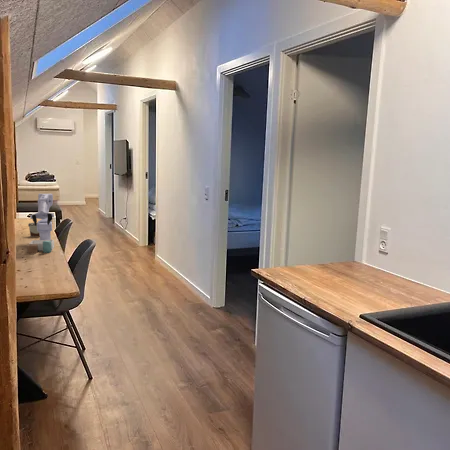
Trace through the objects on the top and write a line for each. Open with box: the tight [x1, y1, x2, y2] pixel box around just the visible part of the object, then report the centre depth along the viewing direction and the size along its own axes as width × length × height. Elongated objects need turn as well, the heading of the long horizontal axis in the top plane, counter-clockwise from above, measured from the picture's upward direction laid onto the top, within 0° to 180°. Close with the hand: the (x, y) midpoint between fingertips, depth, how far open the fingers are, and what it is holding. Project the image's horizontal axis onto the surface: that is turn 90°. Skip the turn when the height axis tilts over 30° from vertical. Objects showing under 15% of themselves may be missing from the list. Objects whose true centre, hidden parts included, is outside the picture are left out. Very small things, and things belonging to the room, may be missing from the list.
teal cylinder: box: [42, 241, 52, 254], centre depth 292 cm, size 5×5×7 cm
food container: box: [27, 222, 40, 237], centre depth 346 cm, size 12×6×10 cm, turn 84°
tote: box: [28, 239, 55, 252], centre depth 300 cm, size 12×14×5 cm
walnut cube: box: [27, 243, 39, 254], centre depth 290 cm, size 5×5×5 cm
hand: (41, 224), depth 291 cm, fingers open, 7 cm apart
